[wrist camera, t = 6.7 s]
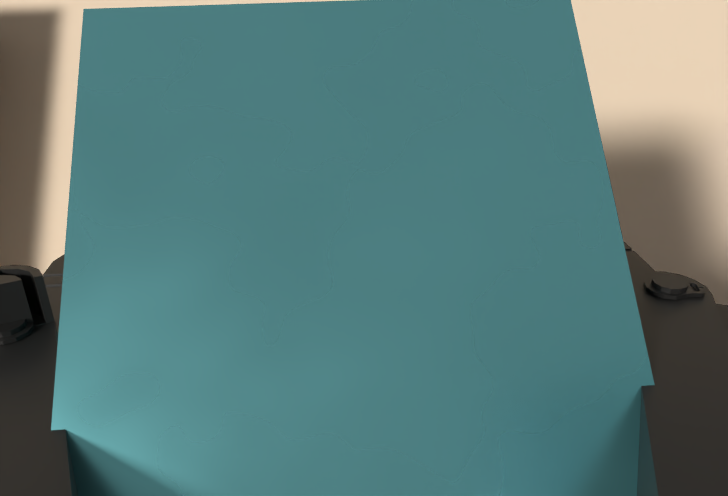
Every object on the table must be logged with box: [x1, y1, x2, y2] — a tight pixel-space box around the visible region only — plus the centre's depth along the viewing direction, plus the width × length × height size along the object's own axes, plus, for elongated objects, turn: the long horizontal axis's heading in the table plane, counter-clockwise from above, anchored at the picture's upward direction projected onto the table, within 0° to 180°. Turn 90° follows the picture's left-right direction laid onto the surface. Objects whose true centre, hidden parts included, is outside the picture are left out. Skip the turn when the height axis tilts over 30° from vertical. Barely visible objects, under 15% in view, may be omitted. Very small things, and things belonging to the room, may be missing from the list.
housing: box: [51, 0, 655, 496], centre depth 13 cm, size 7×7×11 cm
